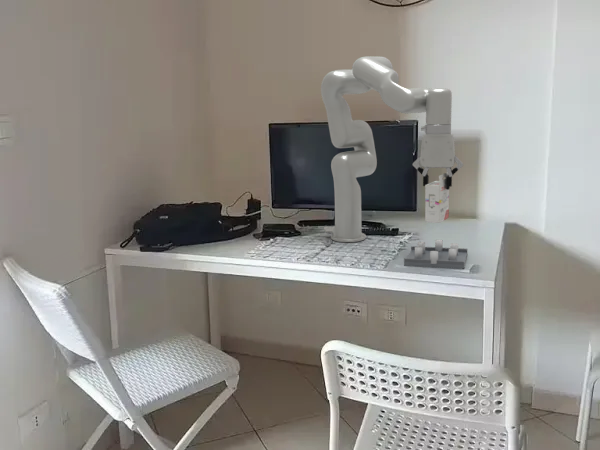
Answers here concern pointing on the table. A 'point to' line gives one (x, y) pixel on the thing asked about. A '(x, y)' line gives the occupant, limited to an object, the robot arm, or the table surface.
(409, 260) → the tray
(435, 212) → the ink cartridge box
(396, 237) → the table surface
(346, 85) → the robot arm
